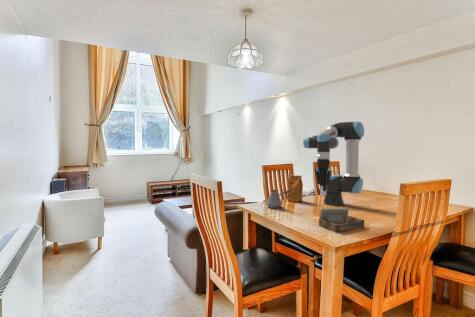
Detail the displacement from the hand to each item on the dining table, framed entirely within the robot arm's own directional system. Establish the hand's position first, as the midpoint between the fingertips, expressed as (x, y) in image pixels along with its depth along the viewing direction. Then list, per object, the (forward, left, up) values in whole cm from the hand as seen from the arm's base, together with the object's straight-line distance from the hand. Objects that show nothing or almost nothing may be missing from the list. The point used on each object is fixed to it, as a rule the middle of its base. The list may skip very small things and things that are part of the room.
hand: (322, 195), depth 162 cm
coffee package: (-50, +20, -16) cm, 56 cm away
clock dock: (+14, 0, -15) cm, 21 cm away
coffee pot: (-36, -6, -16) cm, 40 cm away
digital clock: (+12, -3, -16) cm, 20 cm away
